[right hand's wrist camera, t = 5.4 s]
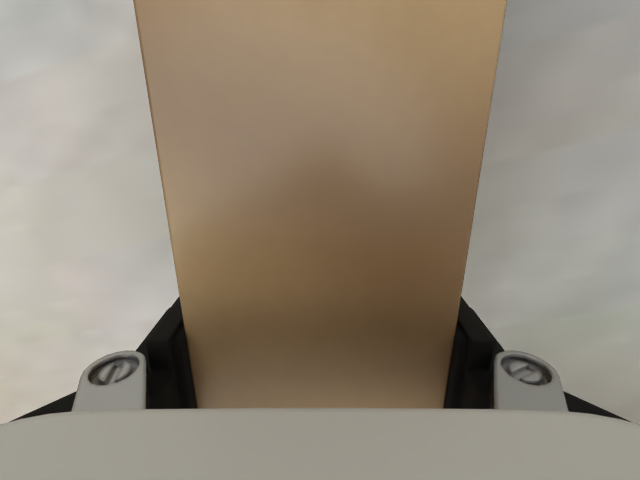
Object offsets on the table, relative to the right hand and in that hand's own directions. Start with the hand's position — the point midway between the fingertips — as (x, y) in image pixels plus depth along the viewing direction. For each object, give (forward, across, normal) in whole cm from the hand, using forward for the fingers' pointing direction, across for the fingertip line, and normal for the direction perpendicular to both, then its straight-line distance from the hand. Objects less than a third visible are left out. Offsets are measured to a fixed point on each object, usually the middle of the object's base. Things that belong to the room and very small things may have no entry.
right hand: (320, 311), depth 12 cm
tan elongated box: (+8, 0, -6) cm, 10 cm away
